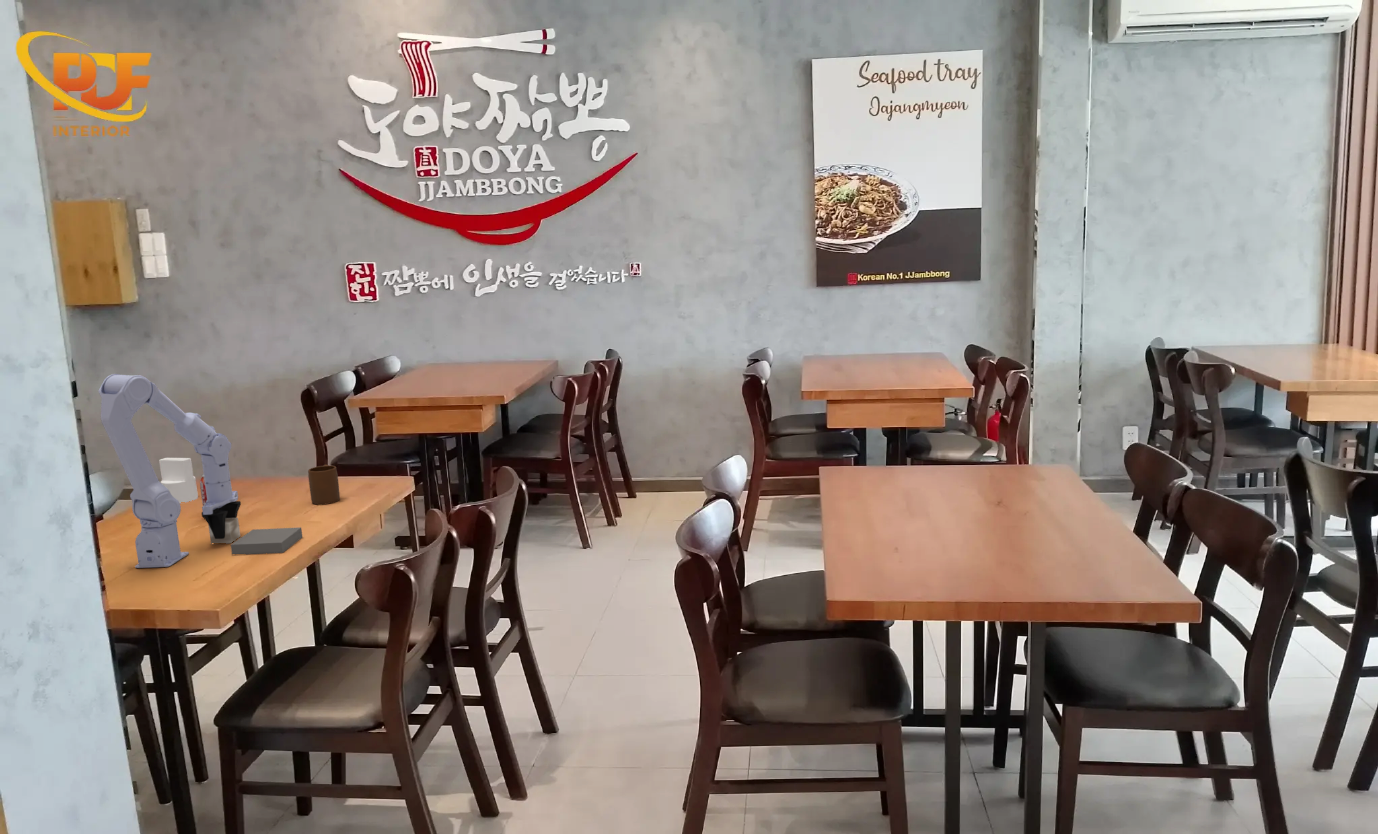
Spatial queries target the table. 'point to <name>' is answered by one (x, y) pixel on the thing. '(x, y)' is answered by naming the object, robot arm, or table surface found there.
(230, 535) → the gray block
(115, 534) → the table surface
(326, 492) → the mug
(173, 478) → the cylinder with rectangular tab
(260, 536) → the charcoal block
